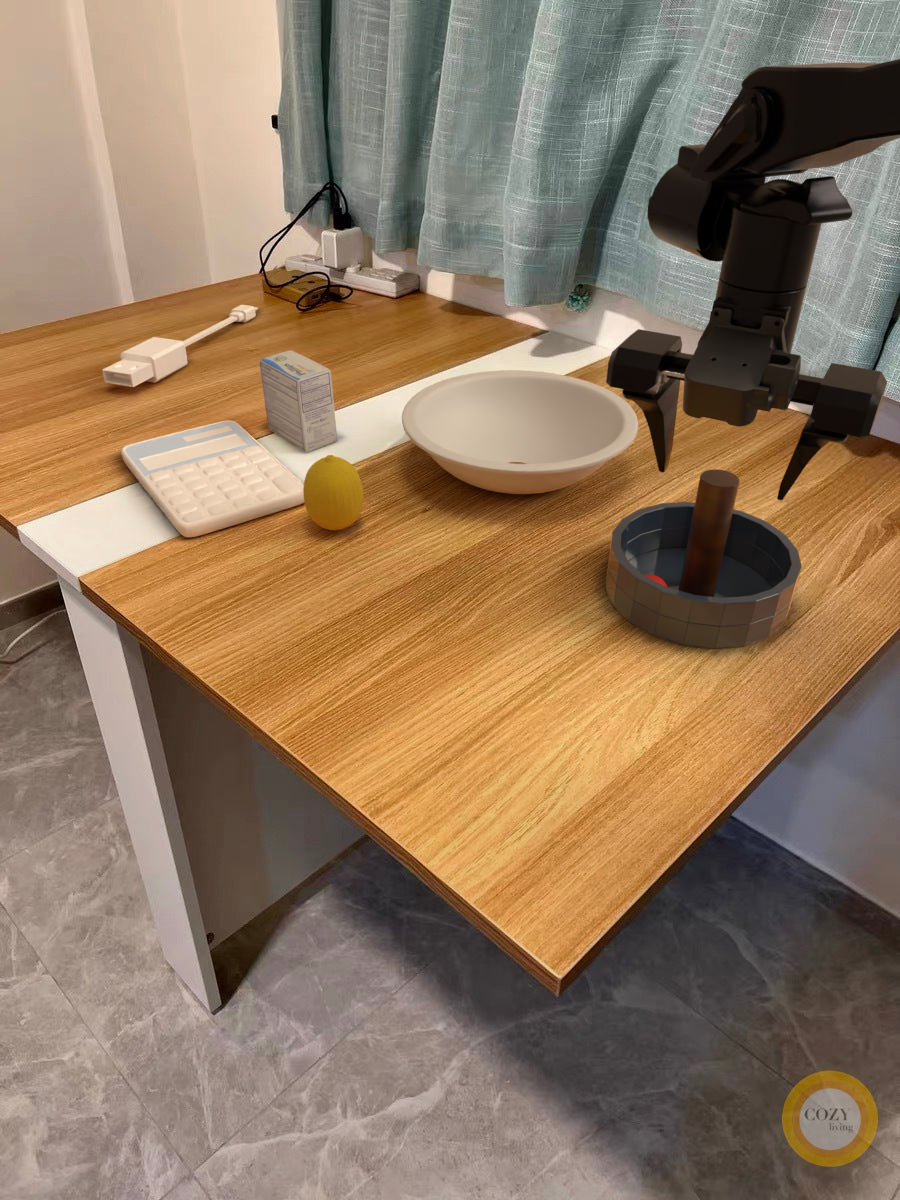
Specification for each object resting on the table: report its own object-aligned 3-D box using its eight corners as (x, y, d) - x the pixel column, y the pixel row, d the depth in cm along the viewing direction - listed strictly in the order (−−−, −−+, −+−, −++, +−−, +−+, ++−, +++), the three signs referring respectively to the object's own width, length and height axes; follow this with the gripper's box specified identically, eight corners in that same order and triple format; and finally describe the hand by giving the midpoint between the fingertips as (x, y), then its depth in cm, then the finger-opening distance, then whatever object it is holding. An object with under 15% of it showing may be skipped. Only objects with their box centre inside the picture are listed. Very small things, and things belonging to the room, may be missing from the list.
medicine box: (338, 442, 100) (332, 368, 95) (305, 454, 97) (297, 379, 92) (299, 419, 105) (292, 348, 99) (267, 430, 102) (257, 358, 97)
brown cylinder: (718, 587, 76) (743, 474, 70) (708, 606, 74) (734, 490, 68) (684, 578, 77) (706, 465, 71) (674, 596, 75) (695, 481, 69)
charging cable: (269, 321, 134) (266, 298, 133) (137, 394, 109) (132, 368, 107) (240, 317, 136) (237, 295, 134) (103, 388, 111) (97, 362, 109)
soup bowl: (573, 412, 106) (578, 359, 102) (672, 509, 88) (683, 449, 84) (379, 439, 100) (376, 383, 96) (442, 549, 82) (442, 487, 78)
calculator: (185, 543, 83) (181, 525, 82) (119, 459, 96) (116, 443, 95) (313, 503, 89) (311, 486, 88) (235, 430, 102) (232, 414, 101)
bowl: (802, 577, 79) (816, 529, 76) (763, 676, 68) (778, 625, 65) (638, 533, 85) (645, 487, 82) (578, 618, 74) (584, 568, 71)
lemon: (338, 553, 82) (331, 476, 77) (295, 534, 84) (286, 458, 79) (377, 528, 85) (373, 453, 80) (335, 510, 88) (329, 436, 83)
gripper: (589, 291, 58) (569, 500, 67) (896, 341, 51) (826, 567, 60) (644, 250, 66) (620, 442, 75) (916, 288, 58) (852, 495, 68)
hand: (720, 483), depth 69 cm, fingers open, 9 cm apart
